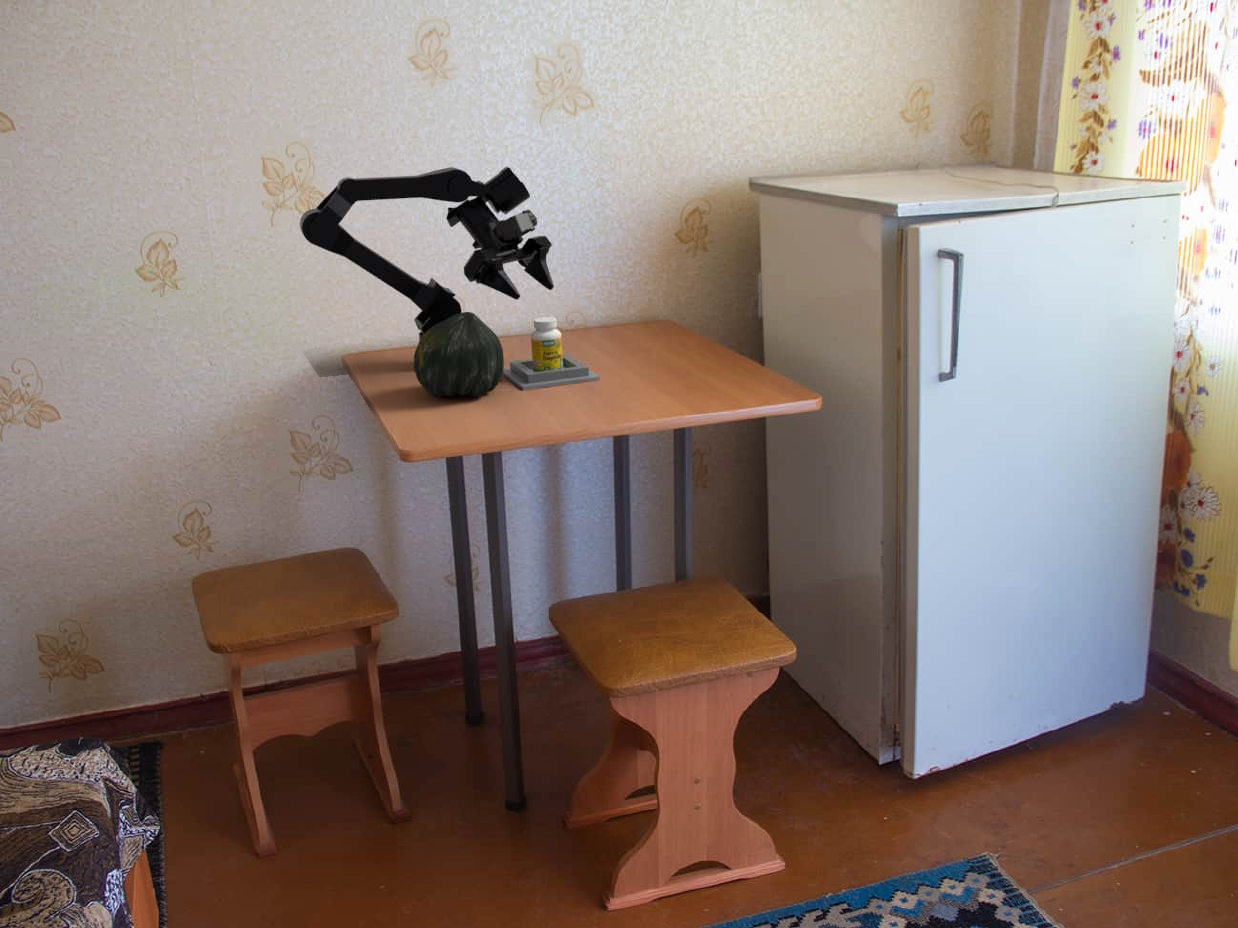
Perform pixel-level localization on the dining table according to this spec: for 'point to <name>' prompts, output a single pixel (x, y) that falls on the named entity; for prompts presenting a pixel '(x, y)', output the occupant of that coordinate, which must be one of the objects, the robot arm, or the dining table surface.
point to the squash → (459, 357)
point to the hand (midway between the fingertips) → (535, 293)
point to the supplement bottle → (546, 345)
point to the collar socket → (548, 374)
